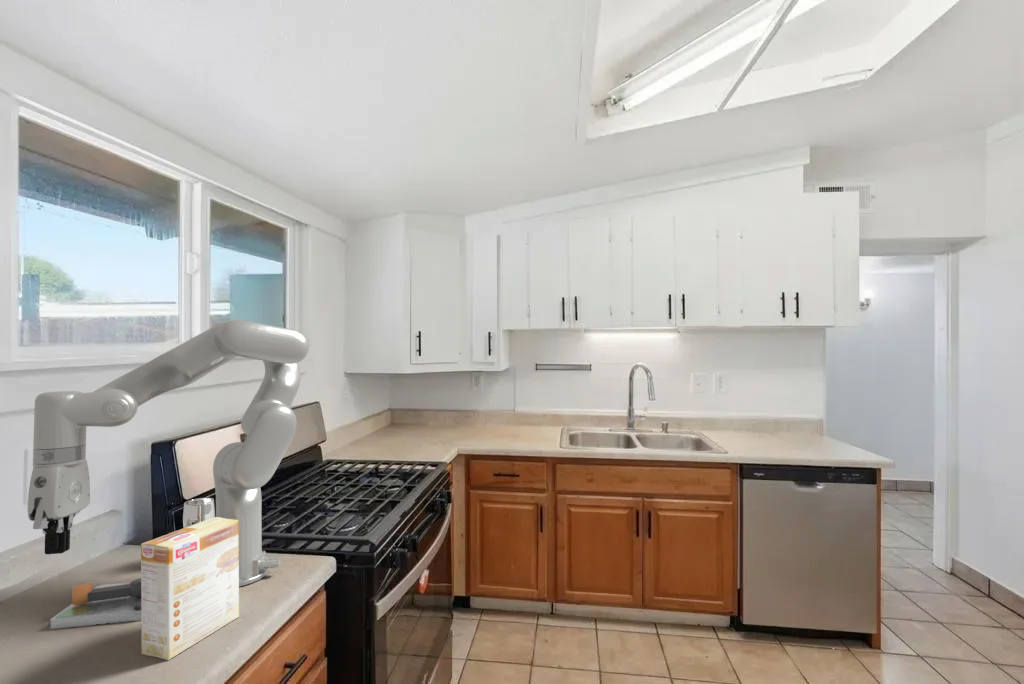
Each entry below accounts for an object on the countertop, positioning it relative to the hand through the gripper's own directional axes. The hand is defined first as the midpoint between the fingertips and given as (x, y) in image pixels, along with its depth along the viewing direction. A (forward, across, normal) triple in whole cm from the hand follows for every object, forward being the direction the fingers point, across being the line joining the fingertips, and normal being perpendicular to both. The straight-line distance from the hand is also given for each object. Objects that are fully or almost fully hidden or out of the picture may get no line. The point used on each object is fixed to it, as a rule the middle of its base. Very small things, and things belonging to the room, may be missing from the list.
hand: (57, 552), depth 95 cm
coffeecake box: (+15, -6, -26) cm, 31 cm away
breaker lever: (+13, +8, -5) cm, 16 cm away
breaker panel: (+15, +9, -6) cm, 19 cm away
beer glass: (+15, +32, -12) cm, 37 cm away
